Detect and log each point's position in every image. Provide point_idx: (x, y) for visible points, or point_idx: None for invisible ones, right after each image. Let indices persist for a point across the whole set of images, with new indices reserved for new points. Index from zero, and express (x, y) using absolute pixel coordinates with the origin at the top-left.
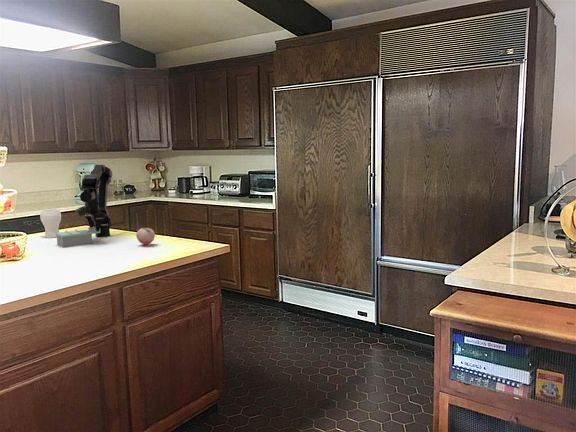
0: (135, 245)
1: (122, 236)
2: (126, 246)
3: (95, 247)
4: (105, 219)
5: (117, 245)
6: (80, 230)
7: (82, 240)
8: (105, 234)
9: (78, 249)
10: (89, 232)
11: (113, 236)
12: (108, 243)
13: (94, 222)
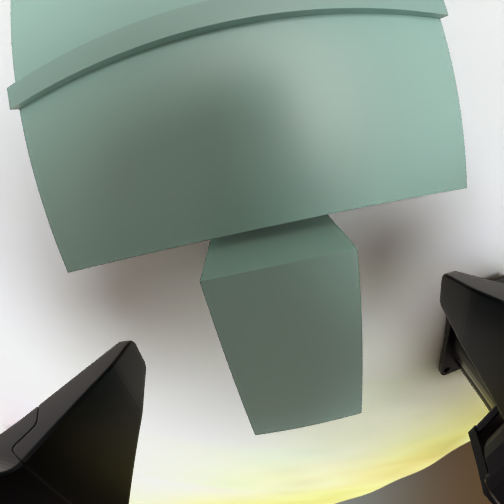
0: None
1: (415, 421)
2: (31, 393)
3: (28, 218)
4: (492, 484)
5: (67, 370)
6: (415, 76)
7: None
8: (462, 356)
9: (9, 76)
10: (50, 220)
11: (461, 378)
12: (175, 341)
13: (15, 453)
